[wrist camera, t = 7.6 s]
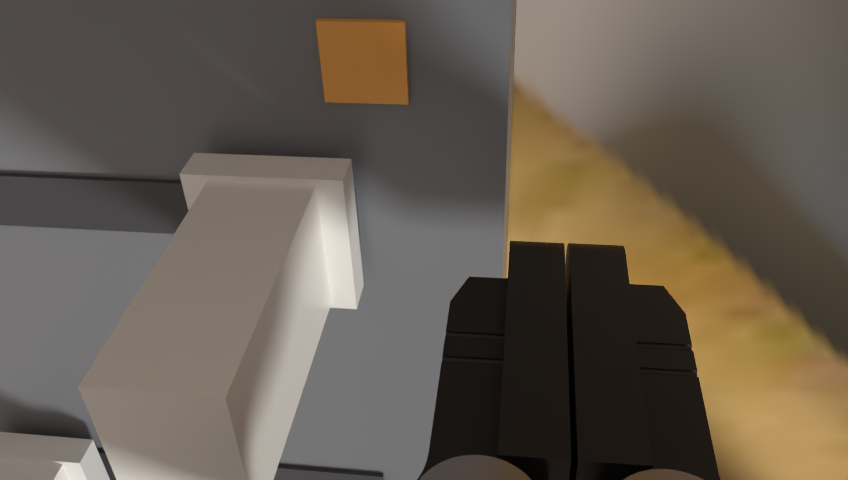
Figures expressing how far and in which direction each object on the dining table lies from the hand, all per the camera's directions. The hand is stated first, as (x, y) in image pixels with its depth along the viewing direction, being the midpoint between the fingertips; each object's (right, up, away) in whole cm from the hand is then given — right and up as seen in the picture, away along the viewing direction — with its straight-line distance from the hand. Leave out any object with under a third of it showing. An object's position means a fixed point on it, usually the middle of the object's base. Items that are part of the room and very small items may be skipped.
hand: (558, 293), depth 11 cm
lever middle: (-4, +1, +2) cm, 4 cm away
